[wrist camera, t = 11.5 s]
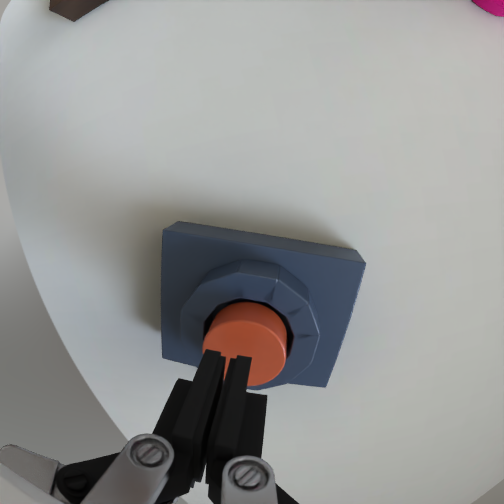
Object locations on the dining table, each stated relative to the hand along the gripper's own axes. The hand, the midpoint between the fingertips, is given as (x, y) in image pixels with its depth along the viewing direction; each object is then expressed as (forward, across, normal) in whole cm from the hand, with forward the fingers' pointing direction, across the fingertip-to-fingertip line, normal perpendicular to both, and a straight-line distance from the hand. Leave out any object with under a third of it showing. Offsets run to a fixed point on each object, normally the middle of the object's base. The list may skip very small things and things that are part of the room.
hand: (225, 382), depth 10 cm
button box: (+7, 0, 0) cm, 7 cm away
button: (+4, 0, 0) cm, 4 cm away
